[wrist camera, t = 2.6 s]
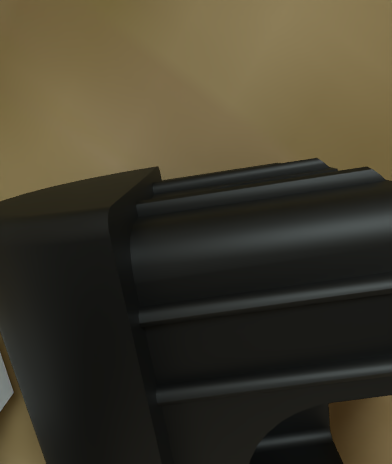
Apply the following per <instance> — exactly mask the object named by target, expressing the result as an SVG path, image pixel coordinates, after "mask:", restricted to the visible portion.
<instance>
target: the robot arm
mask: <svg viewBox="0 0 392 464" xmlns="http://www.w3.org/2000/svg"><path fill="white" fill-rule="evenodd" d="M13 393H14V392H13V389H12V386H11V383H10V380H9V377H8V374H7V371H6V368H5V365H4V362H3V359H2V356H1V353H0V411H1V410H2V408H3V407H4V406H5V404H6V403H7V401H8V400H9V399H10V397H11V396H12V394H13Z"/></svg>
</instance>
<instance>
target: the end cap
mask: <svg viewBox="0 0 392 464" xmlns="http://www.w3.org/2000/svg"><path fill="white" fill-rule="evenodd" d="M0 332H1V335H2V338H3V341H4V344H5V347H6V349H7V352H8V355H9V358H10V361H11V364H12V367H13V369H14V372H15V375H16V378H17V381H18V384H19V387H20V390H21V392H22V395H23V398H24V401H25V404H26V407H27V410H28V412H29V415H30V418H31V421H32V424H33V427H34V430H35V432H36V435H37V438H38V441H39V444H40V447H41V450H42V453H43V455H44V458H45V461H46V464H343V462H342V460H341V457H340V455H339V453H338V451H337V449H336V447H335V444H334V442H333V439H332V436H331V433H330V426H329V407H328V403H333V402H341V401H349V400H357V399H364V398H372V397H380V396H388V395H392V181H389V180H385V179H384V178H383V177H382V176H381V175H380V174H378V173H377V172H375V171H374V170H373V169H371V168H369V167H361V168H354V169H348V170H341V171H338V170H337V169H335V168H331V167H329V166H327V165H326V164H325V163H324V162H322V161H321V160H319V159H318V158H313V159H307V160H300V161H294V162H287V163H273V164H267V165H260V166H254V167H247V168H241V169H234V170H227V171H221V172H214V173H208V174H201V175H194V176H188V177H181V178H175V179H168V180H163V181H162V180H161V174H160V170H159V167H151V168H145V169H139V170H133V171H127V172H122V173H116V174H111V175H106V176H100V177H95V178H90V179H85V180H80V181H76V182H71V183H67V184H62V185H58V186H54V187H49V188H45V189H41V190H37V191H34V192H30V193H26V194H23V195H19V196H16V197H13V198H10V199H6V200H3V201H1V202H0Z"/></svg>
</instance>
